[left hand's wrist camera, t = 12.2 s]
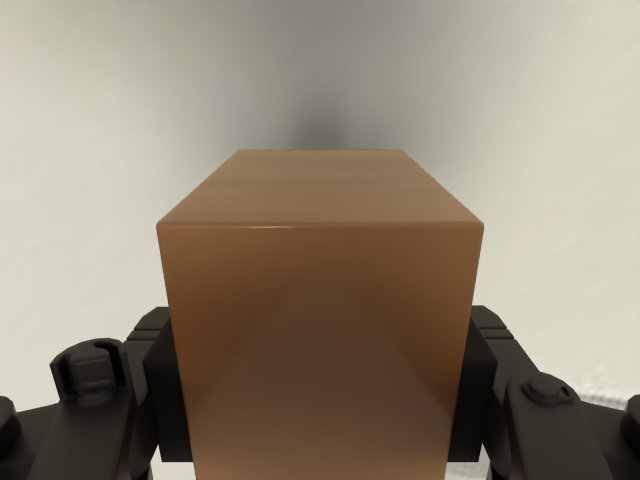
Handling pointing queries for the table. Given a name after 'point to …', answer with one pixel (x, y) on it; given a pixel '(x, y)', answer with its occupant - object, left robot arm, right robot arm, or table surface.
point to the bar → (320, 315)
